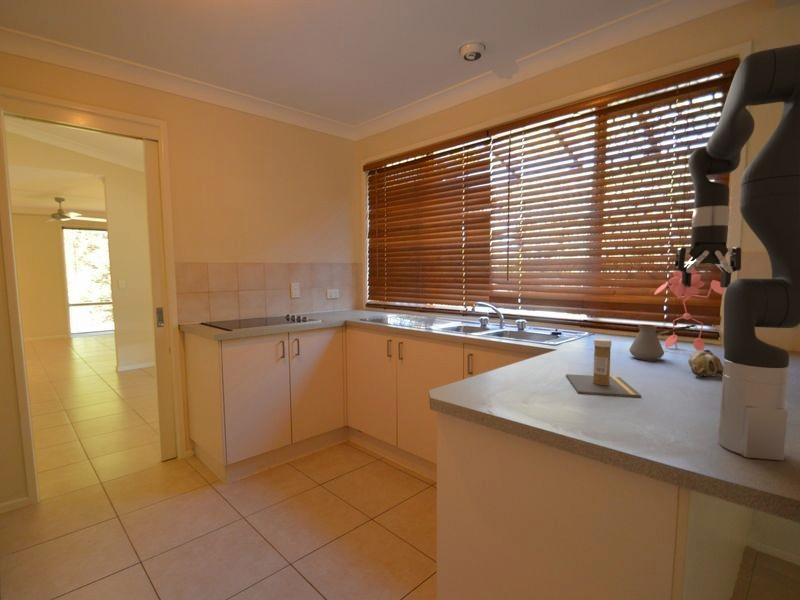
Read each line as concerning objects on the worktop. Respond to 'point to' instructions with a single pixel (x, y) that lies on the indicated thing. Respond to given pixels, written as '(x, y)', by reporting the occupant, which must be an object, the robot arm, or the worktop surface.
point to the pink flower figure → (688, 292)
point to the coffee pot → (650, 342)
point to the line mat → (615, 387)
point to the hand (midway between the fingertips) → (705, 287)
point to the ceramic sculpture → (705, 363)
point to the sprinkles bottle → (602, 361)
